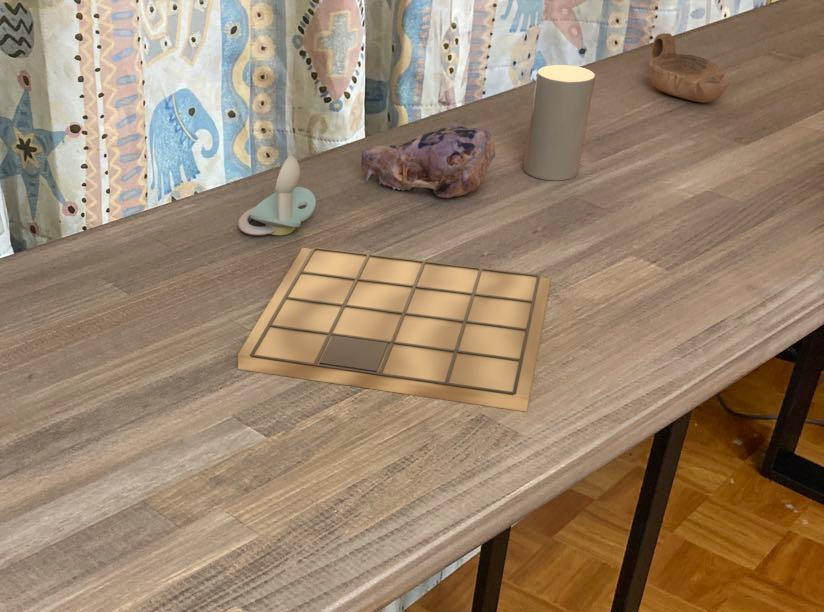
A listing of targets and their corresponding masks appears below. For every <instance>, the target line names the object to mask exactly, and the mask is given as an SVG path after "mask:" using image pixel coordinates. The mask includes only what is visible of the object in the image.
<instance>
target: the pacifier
mask: <svg viewBox="0 0 824 612" xmlns="http://www.w3.org/2000/svg"><path fill="white" fill-rule="evenodd" d="M298 161H299V160H297V159H296V158H295V157H294V156H292V155H290V156H288V157H286V159H285V160H284V162H283V164H282V166H281V168H280V170H279V173H278V176H277V179H276V182H275V187H274V188H275V189H274V190H275V191H274V192H273V193H272V194H270V195H269V196H267V197H266V198H264V199H263V200H262V201H261V202H259V203H258V204H257V205H256V206H253V207H251V208H249V209H248V210H246V211H245V212H243V213H242V214H241V216H240V217H238V218H239V219H238V221H237V227H238V228H239V230H240V231H241V232H243V233H245V234H247V235H251V236H267V235H272V236H286V235H290V234H292V233H293V232H294V231H295V230H296V229H297V228H300V227H301V223H302V222H304V221H306V220H308V219H309V218H311V216H313V214H314V212H315V209H316V205H317V202H316V201H317V199H316V197H315V194H314V193H313V192H312V191H311V190H309V189H308V188H306V187H303V186H297V185H298V183H299V180H300V177H301V165H300V164H299V162H298ZM301 206H305V207H304V208H299V207H301ZM251 220H254V221H256V222H259V223H262V224H265V225H264V226H256V225H252V224H251V223H250V222H251Z"/></svg>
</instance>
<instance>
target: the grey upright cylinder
mask: <svg viewBox="0 0 824 612" xmlns="http://www.w3.org/2000/svg"><path fill="white" fill-rule="evenodd" d="M595 80H596V73H594V72H593V71H592V70H590V69H588V68H585V67H581V66H576V65H568V64H551V65H545V66H543V67H541V68H539V69H538V70H537V72H536V78H535V84H534V85H535V86H534V91H533V99H532V105H531V112H530V120H529V127H528V134H527V141H526V147H525V154H524V161H523V171H524V172H525V173H526V174H527V175H529V176H531V177H533V178H536V179H540V180H545V181H567V180H571V179H575V177H577V176H578V175H579V171H580V165H581V159H582V154H583V150H584V149H583V148H584V143H585V137H586V132H587V128H588V127H587V126H588V121H589V114H590V109H591V103H592V97H593V91H594V87H595Z"/></svg>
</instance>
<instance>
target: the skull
mask: <svg viewBox="0 0 824 612" xmlns="http://www.w3.org/2000/svg"><path fill="white" fill-rule="evenodd" d="M495 157H496V147H495V144H494V141H493V138H492V135H491V133H490V132H489V131H487V130H485V129H484V128H483V129H482V128H479V127H473V128H472V127H471V128H470V127H466V126H462V125H447V126H443V127H440V128H437V129H434V130H432V131H429V132H426V133H423V134H421V135H418V136H417V137H414V138H412V139H411V140H409V141H407V142H404V143H402V144H397V145H395V144H394V145H392V144H390V145H374V146H371V147H370V148H368V149H367V148H363V150H362V151H361V163H360V167H361V168H362V170H365V169H366V168H367V167H368V170H367V174H366V182H368V181H369V179H370V177H371V176H372V175H373V174H375V175H378V181H379V185H381V184H382V185H383V186H387V187H391V188H392V190H397V191H400V190H401V191H402V192H403V191H406V190H407V191H410V190H412V188H416V189H420V188H423V189H424V188H425V189H431V190H433V191H432V192H433V193H434V194H435V196H436V197H438V198H442V199H443V198H444V199H450V198H453V197H455V198H457V197H461V196H464V195H467V194H470V192H475V191H476V190H477V189H478V187H479V186H480V185H481V184H485V182H486V181H487V180H486V179H487V177H486V173H487V172H488V170H489V168H490V166H491V163H493V160H495Z"/></svg>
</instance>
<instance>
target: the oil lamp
mask: <svg viewBox="0 0 824 612" xmlns="http://www.w3.org/2000/svg"><path fill="white" fill-rule="evenodd" d="M650 55H651V60H650V61H649V62H648V63H649V64H648V74H649V78H650V81H651V82H650V83H651V84H652V85H653V86H654V88H655V89H657V90H658V91H660V92H662V93H665V94H667V95H669V96H674V97H677V98H680V99H683V100H687V101H691V102H695V103H710V102H713V101H715V100H717V99H719V98H720V97H721V96H722V94H723V93H724V92H725V90H727V88H728V86H729V85H730V81H728V80H723V79H724V76H725V73H723V72H722V71H721V68H720V67H719V66H718V64H716V63H715V62H714V61H712V60H710V59H707V58H704V57H701V56H697V55H693V54H684V53H683V54H682V53H676V43H675V39H674V35H672V34H671V33H669V32H667V33H665V32H663V33H659V34H657V35H656V36H655V37H654V39H653V42H652V46H651V53H650Z"/></svg>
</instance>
